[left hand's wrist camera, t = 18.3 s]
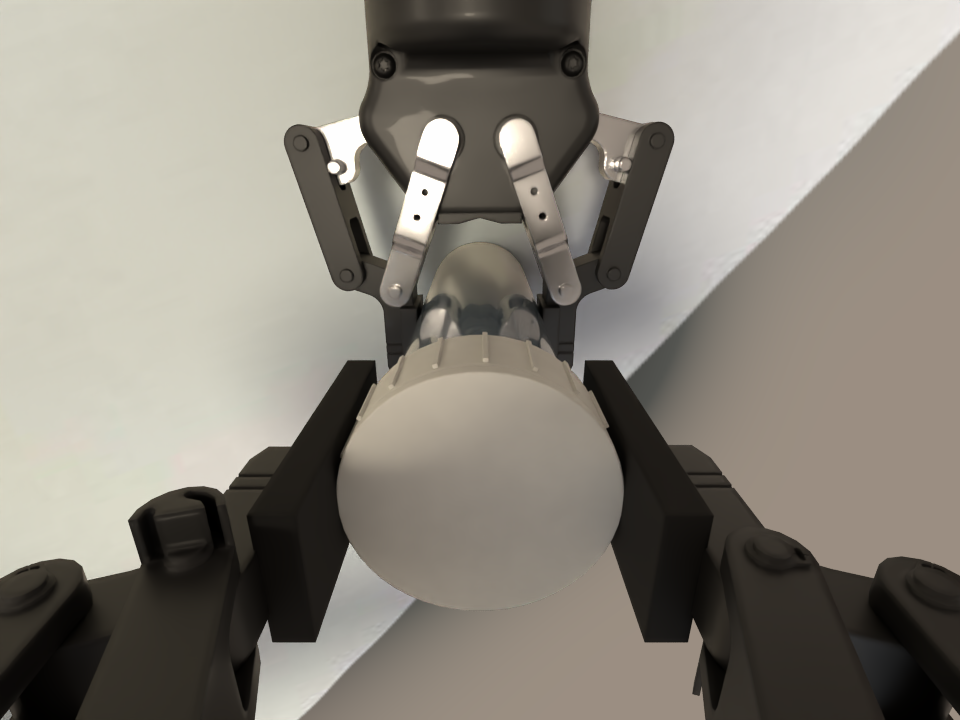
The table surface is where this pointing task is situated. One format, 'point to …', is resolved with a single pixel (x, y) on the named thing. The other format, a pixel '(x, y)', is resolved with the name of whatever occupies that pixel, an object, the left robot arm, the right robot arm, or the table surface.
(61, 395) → the table surface
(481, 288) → the bottle
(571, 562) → the lid
